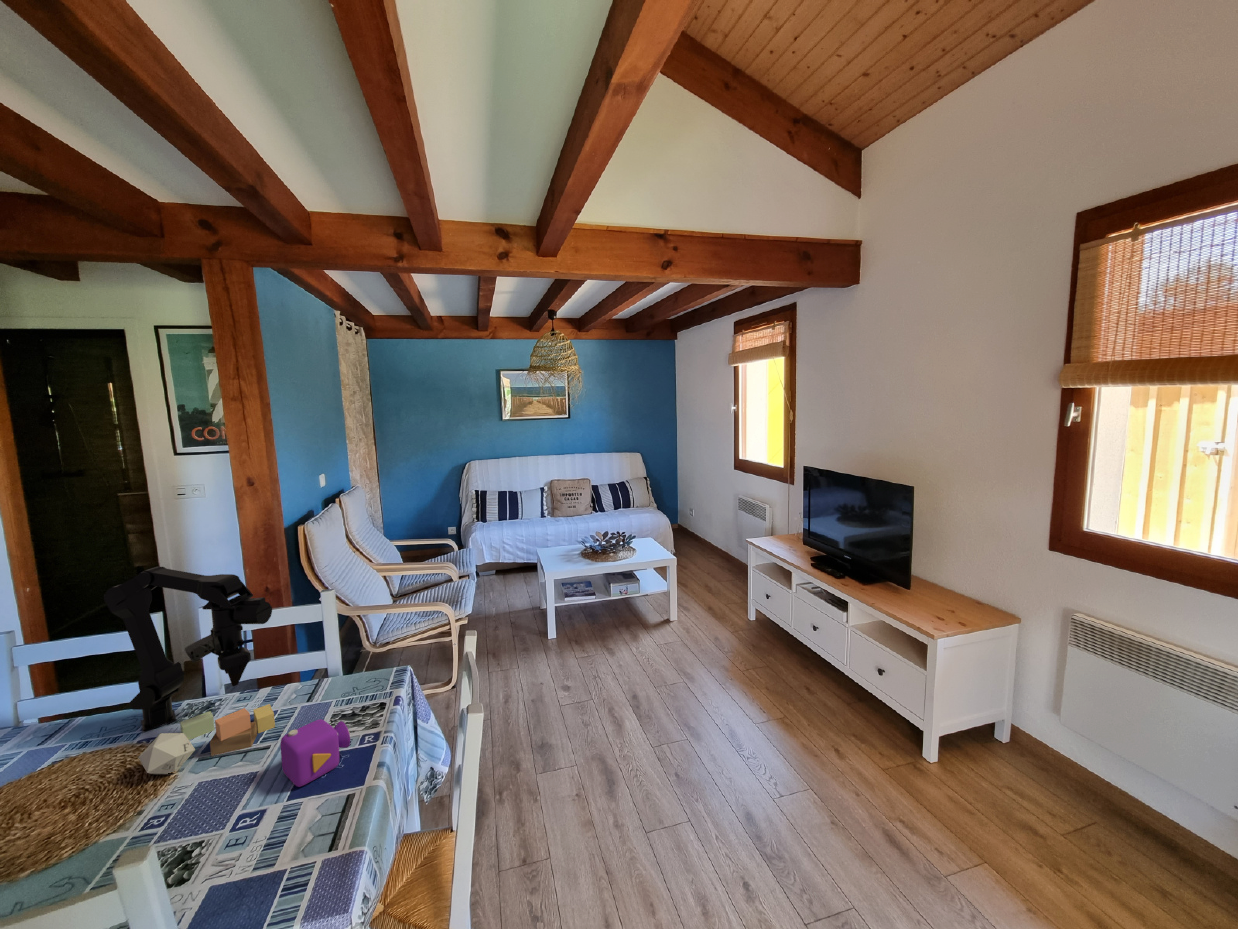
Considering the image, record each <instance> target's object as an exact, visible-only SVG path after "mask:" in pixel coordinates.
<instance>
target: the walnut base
mask: <svg viewBox="0 0 1238 929" xmlns="http://www.w3.org/2000/svg"><path fill="white" fill-rule="evenodd" d="M250 723H251V728H249V729H247V730H245V731H243V732H240V733H238V734H236V735H234V736H231V737H229V738H227V739H225V740H222V741H221V740H220V739H219V738H218V737H217V735H216V732H214V735H213V736H212V737H211V740H209V746H210V756H211V757H213V756H217V755H222V754H226V753H227V754H228V753H232V752H234V751H240V750H244V749H249V748H252V747H253V744H254V742H255V741H256V738H257V736H258V731H257V726H256V722H254V721H252V722H251V721H250Z"/></svg>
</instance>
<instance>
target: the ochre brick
mask: <svg viewBox="0 0 1238 929" xmlns="http://www.w3.org/2000/svg"><path fill="white" fill-rule="evenodd" d="M252 712H253V722H256V726H257V734H261V733H263V732H266V731H268V730H271V729H273V728H276V723H275V722H276V721H275V713H274V710H273V708H272V706H271V704H270V703H268V704H266V705H263V706H260V707H258V708H257V707H256V708H254V709H253V711H252Z"/></svg>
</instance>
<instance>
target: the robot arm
mask: <svg viewBox="0 0 1238 929" xmlns="http://www.w3.org/2000/svg"><path fill="white" fill-rule="evenodd" d="M157 587H158V588H163V589H168V590H175V591H182V592H185V593H186V592H187V593H191V594H192V593H193V594H194V595H197V596H198V598H200V599H201V600H204V601H207V603H206V604H204V605H203V606H202V607H201V608H202V610H211V618H212V619H211V621H212V627H211V629H210V634H209V635H207V636H204V637H202V638H200V639H198V640H196V641H195V642H192V643H191V644H189V645H187V646H186V647H184V652H185V653H186V655H187V656H188V658H189V660H190V661H191V662H192V663H197V662H199V661H200V660H201V659H203V658H204V657H206V656H208V655H210V654H214V655H216V656H218V657H217V664H218V668H219V670H221V671H224V672H225V674H226V675H228V678H229V680H230V681H229V682H230V683H231V686H232V687H237V686H238V685H239V682H240V681H241V679H242V676H243V674H244V672H245V670H246V668H247V666H248V664H249V663H250V661H251V660H252V656H251V655H252V654H251V652H250V650H249V648H246V647H242V646H244V645H245V641H244V639H243V634H242V631H243V630H244V628H243V625H263V624H266V623H268V622H269V620H270V619H271V617H272V613H273V606H272V605H271V604H270V603H269V602H268V601H266V597H263V596H262V597H255V598H254V594H253V593H252V592H251V590H250V589H249V588H248V587H247V586H246V584H244V582H243V581H242V580H241V579H240V576H238V575H236V574H227V573H225V574H222V573H221V574H214V575H204V574H199V573H194V572H193V573H192V572H187V571H182V570H177V569H171V568H166V567H164V566H155V567H151V568H149V569H145V570H143V571H141V572H139V573H138V574H137V575H135V576H134V577H131V578H130V579H129V580H126V581H125V582H123V583H121V584H117V585H115V586H111V587H110V588H108V589H107V590H106V592H105V594H103V601H104V603H105V605H106V606H107V608H108V610H109V611H110V613H111V614H113V615H115V616H116V617H118V618H120V619H122V621H123V623H124V626H125V629H126V631H127V633H128V636H129V639H130V642H131V644H132V646H133V650H134V651H135V654H136V657H137V660H138V662H139V665H140V668H141V672H140V674H139V678H138V683H137V684H138V689H139V692H138V693H137V694H136V695H135V696H134V697H133V698H132V699H131V700H130V701H129V705H130V707H131V708H132V710H134V711H135V710H137V711H138V710H141V711H142V720H141V721H140V723H141V724H140V725H141V730H142V731H141V732H143V733H145V732H147V731H150V730H153V729H157V728H159V727H162V726H164V725H168V724H171V723H173V722H176V721H177V718H176V714H175V709H174V710H173V703H172V696H173V695H175V694H177V693H178V692H180V690H181V686H182V684H183V682H184V681H185V676H186V673H185V672H184V670H183V669H182V668H183V667H182V664H181V662H179V661H176V662H172V660H169V659H168V658H167V656H166V653H165V651H164V648H163V644H162V642H161V640H160V637H159V634H158V632H157V629H156V627H155V624H154V622H153V618H152V616H151V613H150V607H151V603H152V601H153V594H152V590H154V589H155V588H157ZM234 596H235V597H234ZM232 597H233V598H232Z"/></svg>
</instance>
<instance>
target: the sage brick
mask: <svg viewBox="0 0 1238 929" xmlns="http://www.w3.org/2000/svg"><path fill="white" fill-rule="evenodd" d="M179 724H180V733H184V734H185V735H186V737H187V738H188V740H189V741H191V740H193V739H196V738H199V737H201V736H203V735H206V734H209V733H212V732H213V731H215V720H214V715H213V714H212V712H211V710H210V711H207V712H205V713H200V714H198V715H196V716H193V717H191V718H188V719H185V720H182V721H180V722H179Z"/></svg>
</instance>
